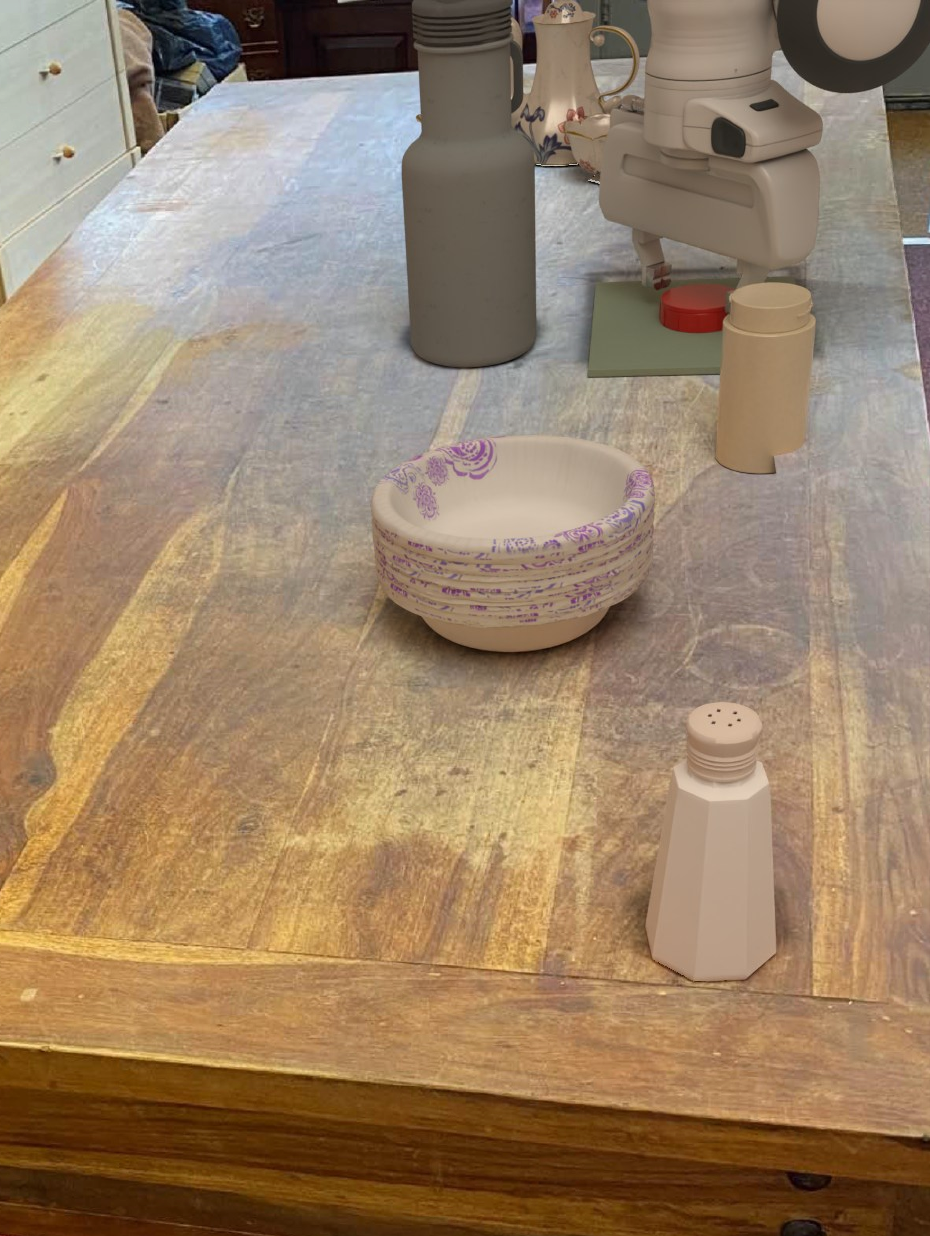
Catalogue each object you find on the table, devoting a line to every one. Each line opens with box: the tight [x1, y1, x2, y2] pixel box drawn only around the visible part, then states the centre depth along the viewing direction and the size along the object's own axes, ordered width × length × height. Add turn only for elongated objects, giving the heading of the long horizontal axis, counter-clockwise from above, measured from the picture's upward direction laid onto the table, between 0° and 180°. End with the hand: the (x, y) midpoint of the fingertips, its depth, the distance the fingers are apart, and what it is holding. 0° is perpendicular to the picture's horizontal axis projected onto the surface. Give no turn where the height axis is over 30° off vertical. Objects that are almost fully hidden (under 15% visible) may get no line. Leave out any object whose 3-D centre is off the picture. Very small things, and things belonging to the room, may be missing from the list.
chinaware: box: [415, 0, 641, 182], centre depth 165 cm, size 28×17×17 cm, turn 58°
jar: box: [715, 282, 817, 474], centre depth 103 cm, size 6×6×11 cm
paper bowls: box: [370, 434, 656, 653], centre depth 89 cm, size 15×15×8 cm
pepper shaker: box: [644, 701, 777, 982], centre depth 64 cm, size 5×5×11 cm
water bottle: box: [400, 0, 538, 368], centre depth 119 cm, size 10×10×28 cm
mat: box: [587, 275, 797, 378], centre depth 126 cm, size 16×20×1 cm
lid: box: [659, 284, 735, 333], centre depth 125 cm, size 6×6×2 cm
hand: (696, 300), depth 125 cm, fingers open, 8 cm apart
